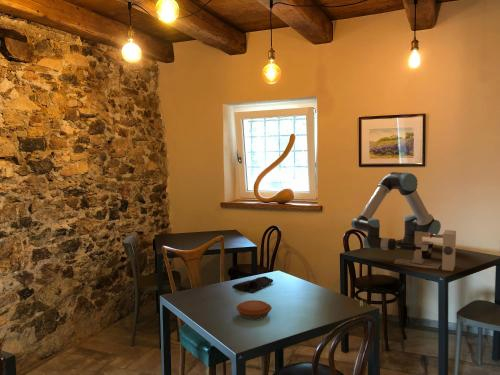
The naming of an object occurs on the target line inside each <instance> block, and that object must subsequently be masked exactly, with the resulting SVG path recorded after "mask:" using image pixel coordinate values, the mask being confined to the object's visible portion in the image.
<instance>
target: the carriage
mask: <svg viewBox="0 0 500 375" xmlns="http://www.w3.org/2000/svg"><path fill="white" fill-rule="evenodd" d="M423 238H430V236H429V233H428V232H420V231H415V239H414V246H415V247H416V245H418V246H422V241H423ZM424 260H425V258H422V250H416V249H415V251H414V250H413V257H412V258H411V261H412V263H419V264H422V263H423V262H425V261H424Z"/></svg>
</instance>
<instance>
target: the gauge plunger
mask: <svg viewBox="0 0 500 375" xmlns="http://www.w3.org/2000/svg"><path fill="white" fill-rule="evenodd" d="M432 238H436V239H437V238H438V239H443V234H439V233H438V234H432V233H430V236H429V239H432Z"/></svg>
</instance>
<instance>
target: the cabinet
mask: <svg viewBox="0 0 500 375" xmlns="http://www.w3.org/2000/svg"><path fill="white" fill-rule="evenodd" d="M442 233H443V234H442V235H443V238H442V256H441V257H442V259H441V270H442V271H451V272H453V271H454V269H455V266H456V244H457V243H456V242H457V231H456V230H451V229H450V230H448V229H445V230H444V232H442Z"/></svg>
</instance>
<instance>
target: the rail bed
mask: <svg viewBox="0 0 500 375" xmlns="http://www.w3.org/2000/svg"><path fill="white" fill-rule="evenodd" d="M393 264H395V265H403V266H408V267H409V266H412V267H417V268H427V269H428V268H429V269H434V270H435V269H436V270H439V268H440V267H441V266H442V263H437V262H428V261H427V262H426V261H424V262H423V263H422V264H419V263H412V259H411V260H410V259H409V260H408V259H402V258H401V259H400V258H396V260H394V262H393Z"/></svg>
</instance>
